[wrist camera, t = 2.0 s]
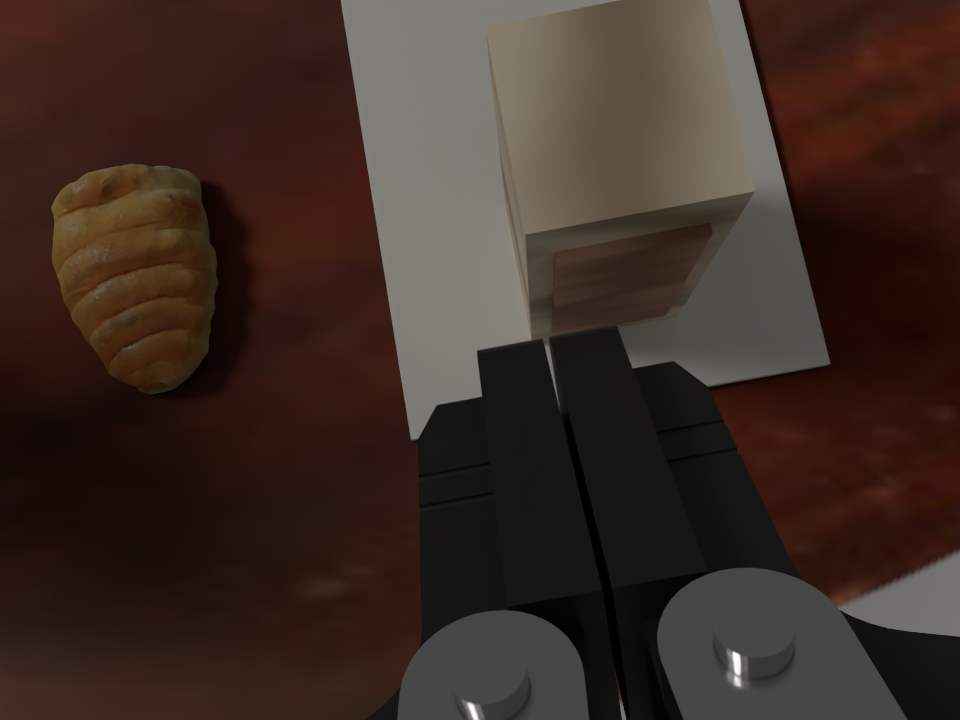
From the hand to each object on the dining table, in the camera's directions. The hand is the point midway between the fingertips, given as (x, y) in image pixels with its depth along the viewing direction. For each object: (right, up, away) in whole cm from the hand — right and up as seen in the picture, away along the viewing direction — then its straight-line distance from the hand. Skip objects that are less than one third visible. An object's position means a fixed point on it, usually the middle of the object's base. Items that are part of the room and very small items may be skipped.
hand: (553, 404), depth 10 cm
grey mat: (+3, +11, +30) cm, 32 cm away
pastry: (-15, +4, +30) cm, 34 cm away
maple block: (+4, +5, +28) cm, 29 cm away
